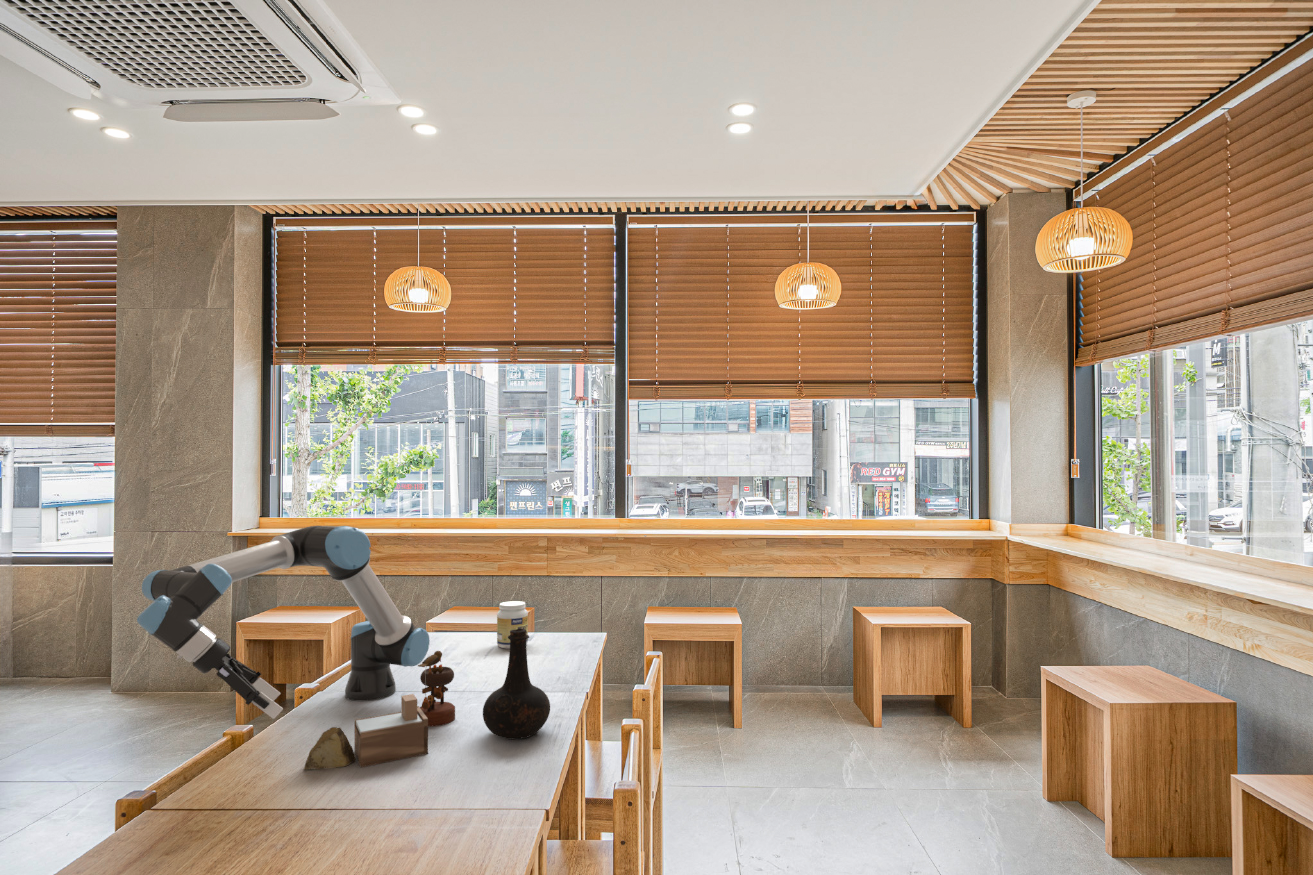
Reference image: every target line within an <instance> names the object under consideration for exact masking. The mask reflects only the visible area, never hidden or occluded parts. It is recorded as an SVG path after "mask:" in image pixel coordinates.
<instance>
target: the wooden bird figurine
mask: <svg viewBox="0 0 1313 875" xmlns="http://www.w3.org/2000/svg"><path fill="white" fill-rule="evenodd" d="M442 656H443V653H442V651H441V650H435V651H434V653H433V654H431V655H428V657H426V658H424V659H423V660H422V662H421V663H419V664H418V665H417V667H419V668H420V667H421V668H425V669H424V670H422V672H421V674H420V678H419V679H420V682H421V684H423V685H424V686H425V687H424V688H422V689H421V694H424V695H425V696H424V698H423V700H422V703H421V706H419V707H420V709H421V710H422V711H423V713H424V714H425V715H426V717H427V718H428V727H439V726H444V725H448V724H450V723H452V722H453V721H455V719H456V707H455V705H454V704H453V703H451V702H449V701H445V693H446V692H447V691H449V689H448V687H447V685H449V684H450V683H451V682H453V680H454V678H455V673H454V672H455V671H454V670H453V669H452V668H451V667H449V666H443V664H442V663H441V662H442V661H441V660H442ZM439 662H440V663H441V664H438V663H439ZM437 664H438V666H437ZM427 667H428V668H427ZM427 693H430V694H429V695H428V696H427ZM436 699H437V700H440V701H437V700H436Z"/></svg>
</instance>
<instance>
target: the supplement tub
mask: <svg viewBox="0 0 1313 875" xmlns="http://www.w3.org/2000/svg"><path fill="white" fill-rule="evenodd" d="M526 607H527V605H526V601H521V600H520V601H519V600H512V601H510V600H509V601H504V602H500V603H499V606H498V608H499V610H498V611H497V613H496V644H497V646H498V647H499V648H500V649H508V650H510V640H509V639H508V636H509V635H510V631H511V630H516V629H525V630H526V635H528V636H529V634H528V633H529V618H528V617H529V613H528V610H527V609H526ZM528 641H529V638H528V639H526V645H527V644H528Z"/></svg>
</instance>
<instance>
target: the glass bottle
mask: <svg viewBox="0 0 1313 875" xmlns="http://www.w3.org/2000/svg"><path fill="white" fill-rule="evenodd" d="M529 638H530V635H529V634H528V635H526V630H525V629H516V630H511V631H510V635H509V636H508V639H509V640H510V649H509V655H508V665H507V670H506V671H507V672H506V676H505V679H504V683H503V684H502V686H501V687H500V688H497V689H496V690H494V691H493V692H492V693H491V694H489V696H488V697H487V698H486V700H485V702H484V704H483V708H482V718H483V723H484V724H485V726H486V727H487V729H488V731H490V732H491V733H492V734H494V736H496V737H498V738H502V739H508V740H519V739H525V738H528V737H532V736H534V735H535V734H537V733H538V732H539V731H540V730H541V729H542V728H543V727H544V725H545V724H546V723H547V721H548V719H549V716H550V712H551V703H550V700H549V696H548V695H547V693H546V692H545V691H543V689H541V688H540V687H537V686H535V685H533V684H532V682H531V680H530V676H529V675H530V674H529V667H528V666H529V665H528V654H527V650H528V649H527V644H526V639H528V640H529Z"/></svg>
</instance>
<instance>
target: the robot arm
mask: <svg viewBox="0 0 1313 875" xmlns="http://www.w3.org/2000/svg"><path fill="white" fill-rule="evenodd" d="M370 548H371V542H370V539H369V537H368V535H367V534H366V533H365V532H364V531H363V530H362V529H360V528H357V527H353V526H349V525H342V526H341V525H340V526H339V525H336V526H335V525H310V526H306V527H302V528H300V529H295V530H293V531H289V532H286V533H282V534H279V535H275V536H274V537H272V539H271V540H270V541H269V542H265V543H261V544H258V545H254V546H250V547H247V548H244V549H240V550H237V551H233V552H230V553H226V554H223V555H220V556H215V557H213V558H210V559H209V558H208V559H205V560H202V561H198V562H195V563H192V564H188V565H185V566H181V567H176V568H174V569H170V570H169V569H168V570H167V569H161V570H154V571H152V572H150V573H148V575H146V577H145V578H143V581H142V584H141V591H142V594H143V596H144V597H145V598H146V599H147V600H149V601H153V602H151V604H149V605H148V606H147V607H146V608H144V609H143V611H141V612H140V613H139V615H138V616H137V618H136V622H137V624H138V625H139V626H140V628H142V629H144V630H145V631H146V632H147V633H148V634H149V635H150V636H153V637H154V638H155V639H157V640H158V641H159V642H161V643H162V644H163V645H165V646H167V647H168V648H170V649H171V650H172V651H173V652H175V653H176V654H177V655H176V657H177V659H181V658H183V659H184V660H185V661H186V662H188V663H191V662H192V666H193V667H194V668H195V669H197V670H198V671H200V672H201V673H202V674H207V673H209V672H211V671H212V669H215V670H216V671H217V673H216V676H217V677H219V678H220V679H221V680H223V681H224V682H225V683H226V684H227V685H228V686H229V687H230V688H232V690H234V691H235V692H236V693H237V694H238V695H239V696H240V697H241V698H242V699H243V700H245V702H244V703H245V704H246V705H247V706H250V704H251V703H252V704H253V705H254V706H255V707H257V708H258V709H259V710H261V711H262V712H263V713H265V714H266V715H267V716H269V717H270V718H271V719H273V720H275V719H276V718H277V716H279V714H280V713H281V712H282V711H283V710H284V708H283V707H282V706H280V705H279V704H278V703H277V702H275V700H277V698H278V697H279V696H280V695H281V692H280V691H279V690H277V689H276V688H275V687H273V686H272V685H271V684H270V683H268V682H267V681H266V680H265V679H263V678H262V677H261V675H262V673H261V672H260V671H259V670H258V671H256V670H253V669H252V668H250V667H249V666H247V665H246V664H244V663H242V662H241V661H240V660H238V659H236V658H234V657H233V656H232V655H230V653H229V652H230V650H231V645H230V644H229V643H227V642H225V640H223V639H222V638H218V637H217V635H216V633H214V632H213V631H212V630H210V629H209V628H208V627H206V626H205V625H204V624H202V623H201V622H199V620H198V619H200V617H202V615H203V614H204V613H205V612H206V611H207V610H208V609H209V608H210V607H211V606H212V605H214V603H215V602H216V601H218V600H219V598H221V597H222V596H223V595H224V593H225V592H226V591H227V590H228V588H230V586H231V585H232V584H233V583H234V582H238V581H240V580H244V579H248V578H250V577H253V576H256V575H259V574H263V573H266V572H268V571H272V570H275V569H278V568H279V569H280V570H281V569H282V570H286V569H289V568H293V567H300V566H301V567H305V566H306V567H320V568H324V569H325V570H326V572H327V573H328V575H329V576H330V577H331V579H332V580H334V581H337V582H341V583H342V584H343V586H344V588H345V589H346V590H347V592H348V593H349V595H350V596H351V598H352V599H353V600H354V601H355V603H356V605H357V606H358V607H359V609H360V612H362V614H363V615H364V616H365V618H366V620H367V621H362V622H358V623H356V624H354V625H353V626H352V627H351V633H350V635H351V636H350V673H349V676H348V680H347V683H346V685H345V690H344V697H345V698H346V699H347V700H350V701H359V702H360V701H361V702H363V701H373V700H378V699H379V700H380V699H383V698H386V697H389V696H391V695H393V694H394V693H395V692H396V690H397V689H396V688H397V687H396V685H397V684H396V681H395V678H394V675H393V672H392V669H391V665H395V666H401V667H404V668H406V667H415V666H418V665H420V664H422V662H423V661H424V660H425V659H426V658H425V657H426V656H427V654H428V651H429V646H430V640H431V639H430V635H429V633H428V631H427V630H426V629H424V628H422V627H416V626H415V624H414V623H413V622H412V620H411V618H410V617H409V616H408V615H402V614H401V612H400V611H399V609H398V607H397V606H396V605H395V603H394V601H393V600H392V598H391V597H390V595H389V594H388V592H387V590H386V589H385V587H384V586H383V584H382V583H381V581H380V580H379V578H378V576H377V575H376V573H375V572H374V571H373V568H372V567H371V565H370V562H371V554H372V553H371V552H372V550H371V549H370Z"/></svg>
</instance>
